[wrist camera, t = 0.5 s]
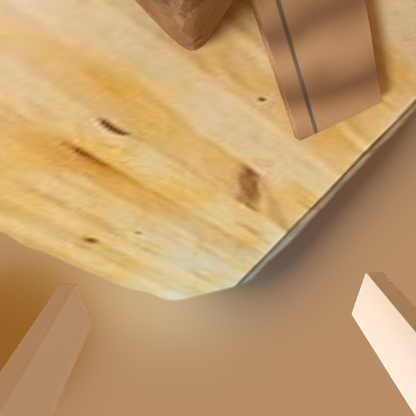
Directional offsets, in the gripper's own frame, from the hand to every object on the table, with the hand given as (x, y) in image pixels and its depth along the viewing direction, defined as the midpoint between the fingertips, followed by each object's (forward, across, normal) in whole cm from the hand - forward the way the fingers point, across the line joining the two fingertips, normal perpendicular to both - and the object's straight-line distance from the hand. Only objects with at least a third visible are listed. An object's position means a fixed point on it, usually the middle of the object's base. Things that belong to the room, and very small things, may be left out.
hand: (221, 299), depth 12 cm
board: (+25, +11, +15) cm, 31 cm away
